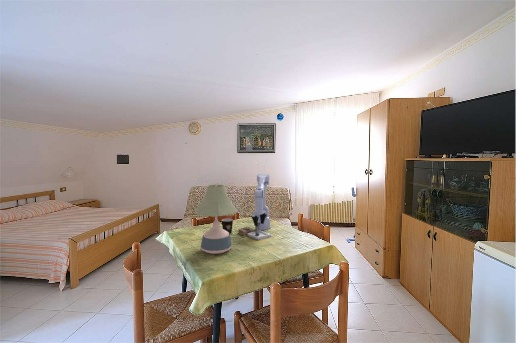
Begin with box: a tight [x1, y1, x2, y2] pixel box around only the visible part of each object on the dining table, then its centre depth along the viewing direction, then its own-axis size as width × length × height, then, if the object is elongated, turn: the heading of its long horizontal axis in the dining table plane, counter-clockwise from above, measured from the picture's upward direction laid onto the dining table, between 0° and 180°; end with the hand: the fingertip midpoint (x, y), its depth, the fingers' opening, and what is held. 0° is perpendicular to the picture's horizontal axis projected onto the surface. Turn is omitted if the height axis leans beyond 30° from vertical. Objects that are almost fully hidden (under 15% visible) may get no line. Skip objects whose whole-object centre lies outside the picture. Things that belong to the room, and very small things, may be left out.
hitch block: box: [237, 226, 255, 237], centre depth 187 cm, size 10×8×3 cm
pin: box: [254, 222, 261, 236], centre depth 180 cm, size 4×4×9 cm
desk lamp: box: [194, 182, 239, 255], centre depth 152 cm, size 26×28×42 cm
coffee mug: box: [219, 218, 234, 234], centre depth 188 cm, size 12×9×10 cm
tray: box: [247, 230, 272, 241], centre depth 180 cm, size 12×12×2 cm
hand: (259, 224), depth 180 cm, fingers open, 7 cm apart
